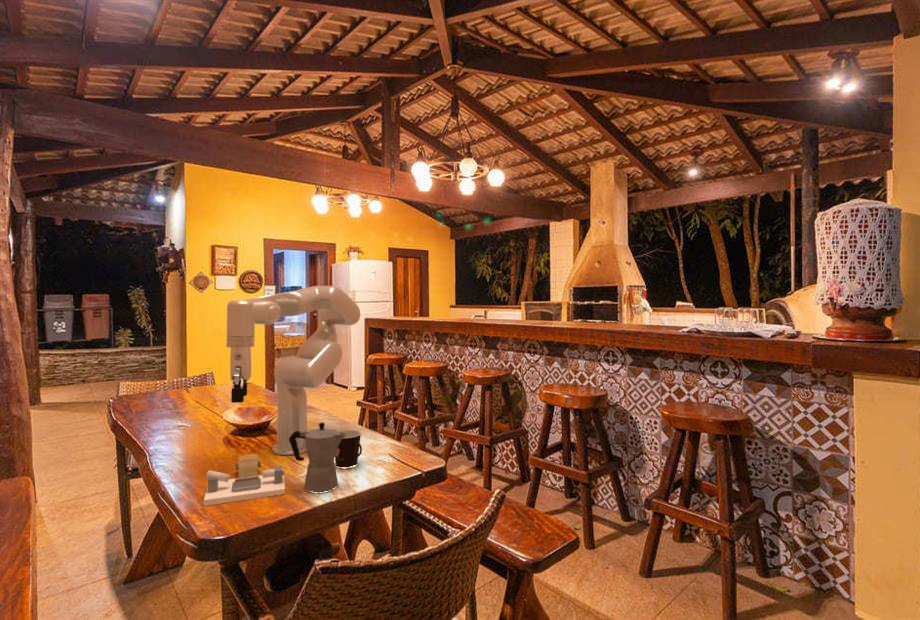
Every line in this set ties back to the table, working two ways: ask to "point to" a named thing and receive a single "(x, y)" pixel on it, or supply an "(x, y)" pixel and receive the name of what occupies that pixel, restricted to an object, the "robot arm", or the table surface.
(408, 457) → the table surface
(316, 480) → the coffeepot
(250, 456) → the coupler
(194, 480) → the table surface
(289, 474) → the table surface
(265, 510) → the table surface
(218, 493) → the shaft frame
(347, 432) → the coffee mug
